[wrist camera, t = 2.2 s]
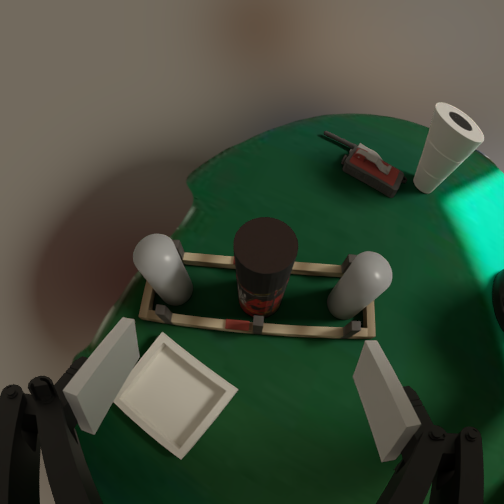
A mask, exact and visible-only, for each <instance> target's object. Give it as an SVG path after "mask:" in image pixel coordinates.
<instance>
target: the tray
mask: <svg viewBox="0 0 504 504" xmlns="http://www.w3.org/2000/svg"><path fill="white" fill-rule="evenodd" d="M238 390H239V389H237V388H236V387H234V386H233V385H232V384H230V383H229V382H227V381H226V380H224V379H223V378H222V377H220V376H219V375H217V374H216V373H215V372H213V371H212V370H211V369H209V368H208V367H207V366H205V365H204V364H203V363H201V362H200V361H199V360H197V359H196V358H195V357H193V356H192V355H191V354H189V353H188V352H187V351H186V350H184V349H183V348H182V347H181V346H179V345H178V344H177V343H176V342H174V341H173V340H172V339H171V338H170V337H168V336H167V335H166V334H164V333H163V332H162V333H161V334H160V335H159V337H158V338H157V339H156V340H155V342H154V343H153V344H152V345H151V347H150V348H149V349H148V350H147V352H146V353H145V354H144V355H143V357H142V358H141V359H140V360H139V362H138V363H137V364H136V365H135V367H134V368H133V369H132V371H131V372H130V374H129V376H128V377H127V379H126V381H125V382H124V384H123V386H122V388H121V389H120V391H119V393H118V394H117V396H116V398H115V400H114V401H113V402H114V403H115V404H116V405H117V406H118V407H119V408H120V409H121V410H122V411H123V412H124V413H125V414H126V415H127V416H129V417H130V418H131V419H132V420H133V421H134V422H135V423H136V424H137V425H138V426H140V427H141V428H142V429H143V430H144V431H145V432H147V433H148V434H149V435H150V436H151V437H153V438H154V439H155V440H156V441H157V442H159V443H160V444H161V445H162V446H164V447H165V448H166V449H168V450H169V451H170V452H171V453H173V454H174V455H175V456H177V457H178V458H179V459H182V458H183V457H184V456H185V455H186V454H187V453H188V452H189V451H190V450H191V448H192V447H193V446H194V445H195V444H196V442H197V441H198V440H199V439H200V438H201V436H202V435H203V434H204V433H205V432H206V430H207V429H208V428H209V427H210V425H211V424H212V423H213V422H214V421H215V419H216V418H217V417H218V416H219V414H220V413H221V412H222V410H223V409H224V408H225V407H226V405H227V404H228V403H229V401H230V400H231V399H232V398H233V396H234V395H235V394H236V392H237V391H238Z"/></svg>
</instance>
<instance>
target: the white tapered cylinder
mask: <svg viewBox="0 0 504 504" xmlns="http://www.w3.org/2000/svg"><path fill="white" fill-rule="evenodd" d="M483 141H484V136H483V133H482V131H481V130H480V128H479V127H478V126H477V124H476V123H475V122H474V121H473V120H472V119H471V118H470V117H469V116H467V115H466V114H465V113H463V112H462V111H461V110H459V109H457V108H456V107H454V106H451V105H449V104H446V103H441V102H440V103H437V104H436V106H435V110H434V114H433V118H432V121H431V125H430V128H429V133H428V136H427V139H426V143H425V146H424V149H423V152H422V156H421V159H420V161H419V164H418V167H417V170H416V173H415V176H414V179H413V182H414V184H415V186H416V187H417V188H418V189H419V190H420V191H421V192H423V193H427V194H428V193H431V192H432V191H433V190H434V189H435V188H436V187H437V186H438V185H439V184H440V183H441V182H443V181H444V180H445V179H446V177H448V176H449V175H450V174H451V173H452V172H453V171H454V170H455V169H456V168H457V167H458V166H459V165H460V164H461V163H462V162H463V161H464V160H465V159H466V158H467V157H468V156H469V155H470V154H471V153H472V152H473V151H474V150H475V149H476V148H477V147H478V146H479V145H480V144H481V143H482V142H483Z"/></svg>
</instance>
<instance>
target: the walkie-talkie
mask: <svg viewBox="0 0 504 504" xmlns="http://www.w3.org/2000/svg"><path fill="white" fill-rule="evenodd" d="M324 135H326V136H328V137H330V138H332V139H334V140H336V141H338V142H340V143H342V144H344V145H346V146H348V147H350V148H351V149H350V152H349V153H350V154H349V156H347V155H345V156H344V157H343V159H342V161H341V164H342V165H344V166H343V169H342V170H343V171H344V172H346V173H347V174H349V175H351V176H353V177H355V178H357V179H358V180H360V181H362V182H364V183H365V184H367V185H370V186H371V187H372V188H375V189H376V190H378V191H380V192H382V193H383V194H384V195H387V196H388V197H389V198H393V197H394V195H395V194H396V192H397V190H398V189H399V186H400V184H401V182H402V183H406V181H407V178H406V177H405V176H404V173H403V172H402V171H400V170H398V169H397V168H395V167H393V166H391V165H390V164H388V163H386V162H385V161H383V160H382V159H381V157H380V156H379V155H378V153H376V152H375V151H373V150H371V149H369V148H367V147H365V146H364V145H363V144H361V143H360V144H359V146H358V145H356V144H354V143H353V144H352V143H350V142H348V141H346V140H344V139H342V138H340V137H338V136H336V135H334V134H332V133H330V132H328V131H324Z"/></svg>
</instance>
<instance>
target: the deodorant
mask: <svg viewBox="0 0 504 504" xmlns="http://www.w3.org/2000/svg"><path fill="white" fill-rule="evenodd" d="M297 251H298V240H297V238H296V235H295V233H294V232H293V230H292V229H291V228H290V227H289V226H288V225H287V224H285V223H284V222H282V221H280V220H278V219H274V218H270V217H260V218H256V219H252V220H250V221H248V222H246V223H245V224H244V225H243V226H241V227H240V229H239V230H238V231H237V233H236V235H235V238H234V258H235V268H236V278H237V288H238V298H239V303H240V306H241V308H242V309H243V311H244V312H245V313H247V314H248V315H250V316H252V317H254V315H256V316H264V318H265V317H269V316H271V315H272V314H274V313H275V312H276V311H277V310H278V308H279V306H280V304H281V301H282V298H283V295H284V292H285V289H286V286H287V283H288V280H289V277H290V274H291V271H292V268H293V265H294V262H295V259H296V256H297Z"/></svg>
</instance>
